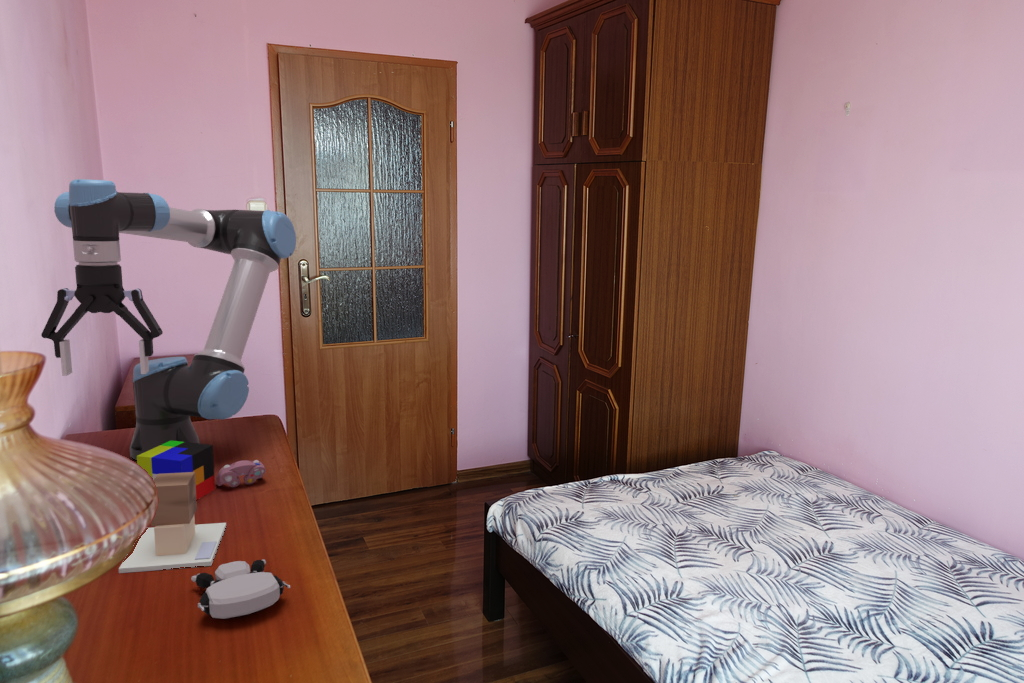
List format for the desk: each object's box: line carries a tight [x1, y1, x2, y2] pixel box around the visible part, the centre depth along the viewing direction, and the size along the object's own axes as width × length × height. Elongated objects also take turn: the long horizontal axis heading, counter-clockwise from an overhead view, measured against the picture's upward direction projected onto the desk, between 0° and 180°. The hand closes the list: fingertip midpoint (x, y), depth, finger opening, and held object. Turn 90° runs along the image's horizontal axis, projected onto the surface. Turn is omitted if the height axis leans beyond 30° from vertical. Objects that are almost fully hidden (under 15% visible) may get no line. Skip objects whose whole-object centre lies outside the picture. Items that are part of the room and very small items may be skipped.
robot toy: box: [190, 559, 291, 620], centre depth 105 cm, size 12×4×15 cm
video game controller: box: [215, 459, 266, 488], centre depth 149 cm, size 10×5×7 cm, turn 123°
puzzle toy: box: [136, 441, 216, 501], centre depth 142 cm, size 10×10×10 cm
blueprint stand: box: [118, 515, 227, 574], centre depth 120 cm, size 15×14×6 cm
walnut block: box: [150, 472, 198, 527], centre depth 119 cm, size 6×6×7 cm
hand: (106, 373), depth 133 cm, fingers open, 13 cm apart
